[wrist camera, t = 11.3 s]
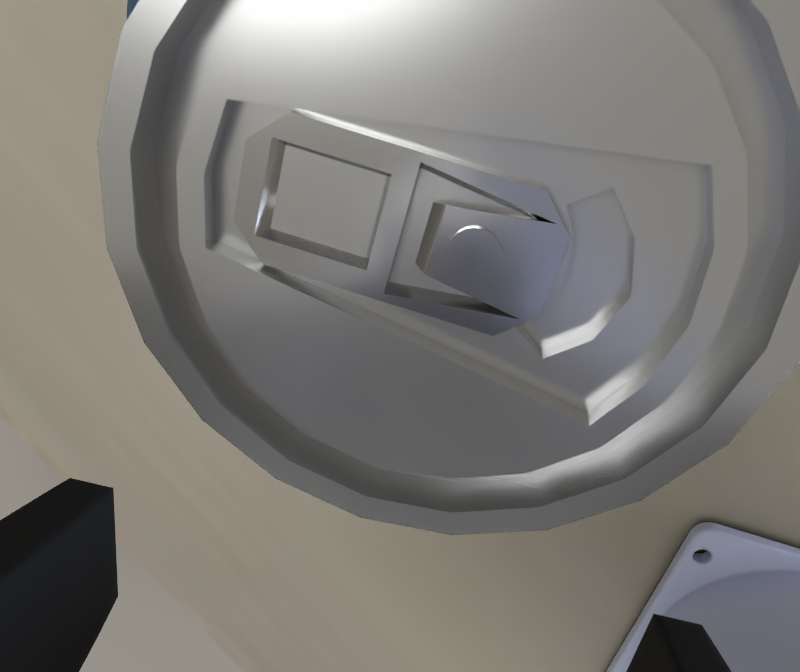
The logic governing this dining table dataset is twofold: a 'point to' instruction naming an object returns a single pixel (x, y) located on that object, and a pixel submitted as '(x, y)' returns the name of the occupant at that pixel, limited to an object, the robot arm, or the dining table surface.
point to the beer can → (462, 240)
